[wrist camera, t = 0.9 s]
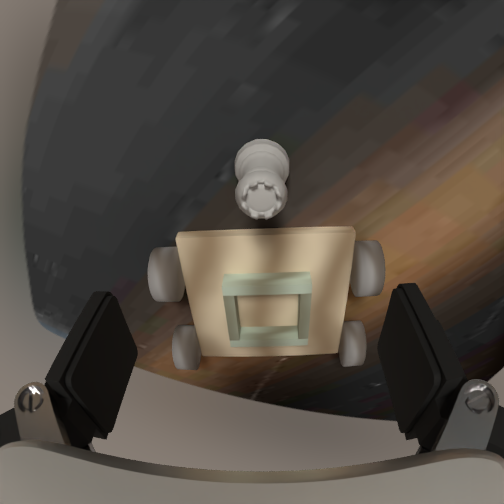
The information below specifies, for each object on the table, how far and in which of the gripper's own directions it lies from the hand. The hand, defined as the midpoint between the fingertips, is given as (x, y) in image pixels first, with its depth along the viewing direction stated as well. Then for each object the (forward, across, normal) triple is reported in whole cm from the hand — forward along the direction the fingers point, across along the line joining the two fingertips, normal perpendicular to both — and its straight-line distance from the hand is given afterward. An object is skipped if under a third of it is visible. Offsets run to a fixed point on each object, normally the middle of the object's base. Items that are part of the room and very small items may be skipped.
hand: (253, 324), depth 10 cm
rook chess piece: (+18, 0, 0) cm, 18 cm away
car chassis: (+18, 0, +14) cm, 23 cm away
